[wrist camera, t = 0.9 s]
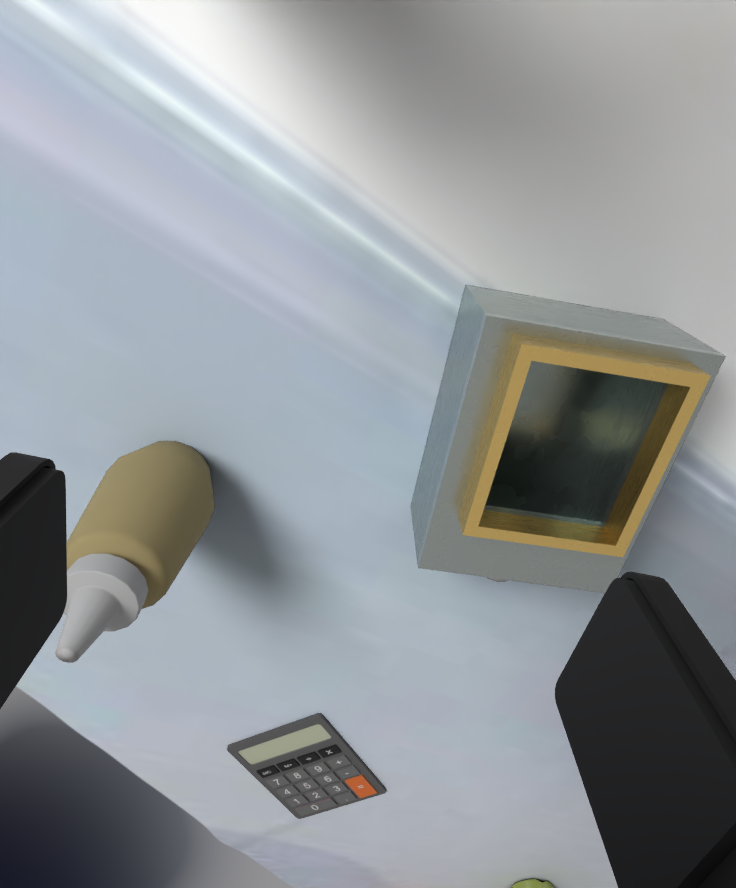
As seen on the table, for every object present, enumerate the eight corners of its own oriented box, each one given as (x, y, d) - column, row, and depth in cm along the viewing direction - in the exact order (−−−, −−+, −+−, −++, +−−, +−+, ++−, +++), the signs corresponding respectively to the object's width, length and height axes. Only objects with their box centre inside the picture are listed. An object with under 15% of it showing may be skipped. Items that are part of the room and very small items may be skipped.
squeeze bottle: (147, 407, 42) (12, 568, 26) (244, 459, 44) (174, 638, 28) (106, 484, 45) (-37, 669, 29) (198, 529, 47) (112, 726, 31)
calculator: (298, 821, 66) (225, 750, 60) (299, 812, 67) (227, 742, 61) (386, 794, 64) (320, 717, 57) (386, 785, 65) (321, 709, 58)
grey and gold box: (465, 284, 38) (493, 325, 29) (663, 319, 39) (746, 368, 30) (404, 529, 47) (413, 614, 39) (565, 552, 48) (608, 639, 40)
